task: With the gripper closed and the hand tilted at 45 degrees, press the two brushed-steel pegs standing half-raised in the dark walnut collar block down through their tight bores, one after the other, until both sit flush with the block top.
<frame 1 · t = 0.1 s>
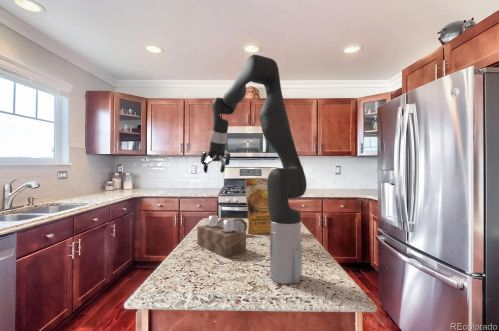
hand: (213, 172, 125), 31 cm above the counter, tool tilted 20°, fingers open, 8 cm apart
tin: (231, 235, 126), on the counter
pancake mix bag: (262, 232, 131), on the counter
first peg: (228, 230, 100), point 8 cm above the counter, slide at 4.5 cm
collar block: (220, 248, 105), on the counter
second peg: (213, 225, 109), point 8 cm above the counter, slide at 4.5 cm
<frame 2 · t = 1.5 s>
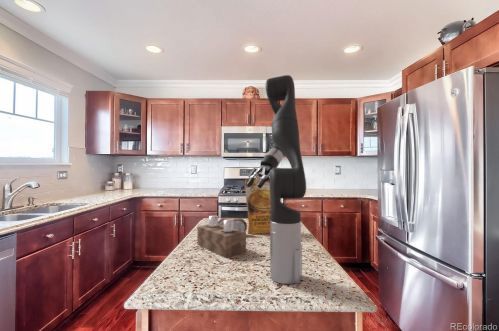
hand: (253, 186, 109), 25 cm above the counter, tool tilted 45°, fingers open, 6 cm apart
nothing on the counter moved.
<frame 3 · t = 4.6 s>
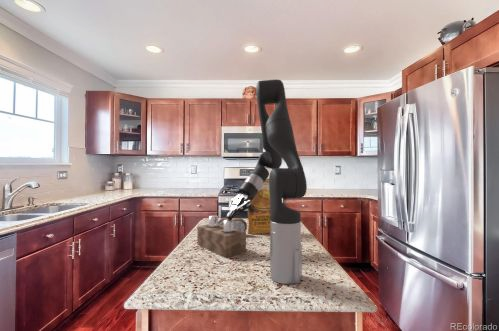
hand: (228, 218, 101), 13 cm above the counter, tool tilted 45°, fingers closed
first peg: (228, 230, 100), point 8 cm above the counter, slide at 4.4 cm, touching gripper
everything else where it was.
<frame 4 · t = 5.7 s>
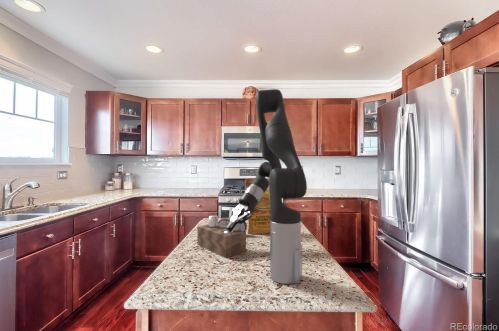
hand: (228, 230, 101), 9 cm above the counter, tool tilted 45°, fingers closed
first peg: (228, 241, 100), point 4 cm above the counter, slide at 0.0 cm, touching gripper
everything else where it was.
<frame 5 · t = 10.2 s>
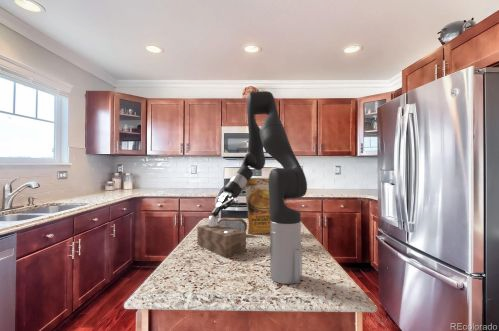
hand: (213, 214, 109), 13 cm above the counter, tool tilted 45°, fingers closed
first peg: (228, 241, 100), point 4 cm above the counter, slide at 0.0 cm
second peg: (213, 225, 109), point 8 cm above the counter, slide at 4.5 cm, touching gripper
everything else where it was.
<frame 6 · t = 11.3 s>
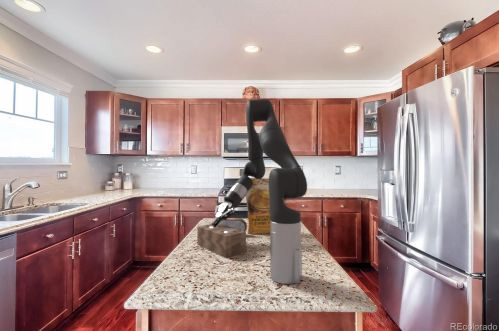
hand: (213, 225, 109), 9 cm above the counter, tool tilted 45°, fingers closed
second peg: (213, 235, 109), point 4 cm above the counter, slide at 0.0 cm, touching gripper
everything else where it was.
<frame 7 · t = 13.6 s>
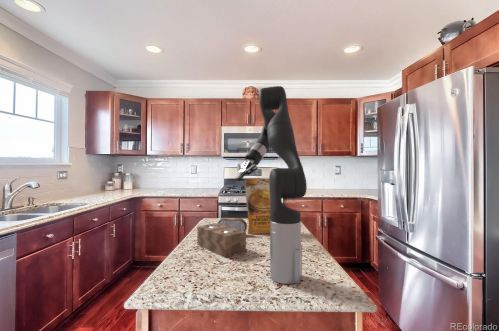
hand: (237, 180, 117), 28 cm above the counter, tool tilted 45°, fingers closed
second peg: (213, 235, 109), point 4 cm above the counter, slide at 0.0 cm
everything else where it was.
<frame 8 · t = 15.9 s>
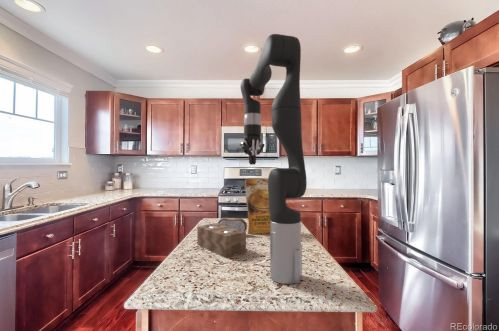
hand: (252, 164, 110), 35 cm above the counter, tool pointing down, fingers closed
nothing on the counter moved.
at the end: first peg slide at 0.0 cm; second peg slide at 0.0 cm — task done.
